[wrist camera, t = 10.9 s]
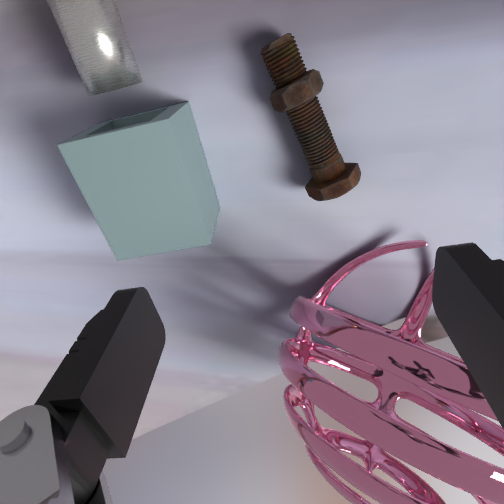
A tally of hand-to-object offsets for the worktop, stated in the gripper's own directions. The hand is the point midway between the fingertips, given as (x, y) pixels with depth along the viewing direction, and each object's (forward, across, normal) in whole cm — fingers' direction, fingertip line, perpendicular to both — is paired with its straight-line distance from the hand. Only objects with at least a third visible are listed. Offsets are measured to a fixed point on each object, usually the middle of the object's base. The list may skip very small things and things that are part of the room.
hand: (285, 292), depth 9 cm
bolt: (+30, -3, +2) cm, 30 cm away
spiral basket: (+30, -8, +27) cm, 41 cm away
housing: (+29, +13, +4) cm, 32 cm away
